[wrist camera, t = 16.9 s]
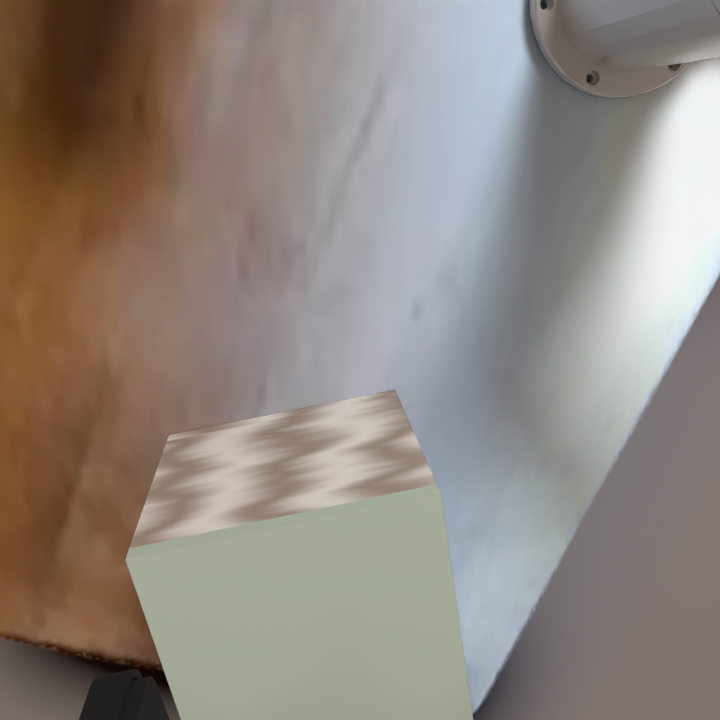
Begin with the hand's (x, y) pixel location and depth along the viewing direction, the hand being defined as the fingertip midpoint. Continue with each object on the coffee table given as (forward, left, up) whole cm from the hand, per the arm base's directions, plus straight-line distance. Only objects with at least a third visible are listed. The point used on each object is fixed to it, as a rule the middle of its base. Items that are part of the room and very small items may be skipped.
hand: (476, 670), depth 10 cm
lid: (+5, +20, -24) cm, 32 cm away
